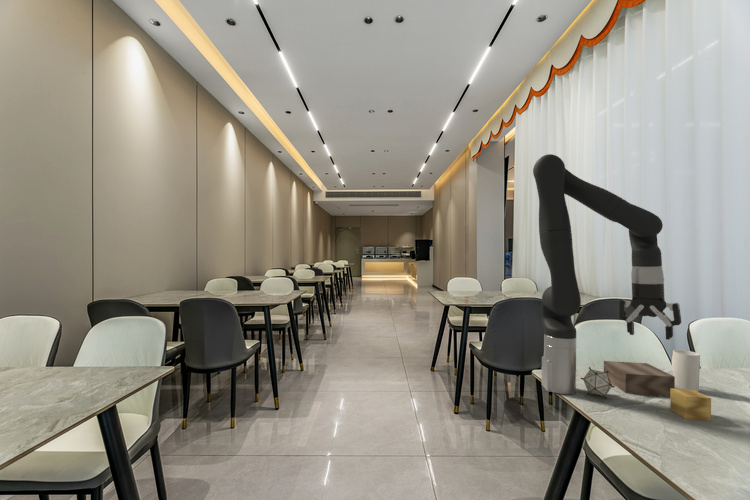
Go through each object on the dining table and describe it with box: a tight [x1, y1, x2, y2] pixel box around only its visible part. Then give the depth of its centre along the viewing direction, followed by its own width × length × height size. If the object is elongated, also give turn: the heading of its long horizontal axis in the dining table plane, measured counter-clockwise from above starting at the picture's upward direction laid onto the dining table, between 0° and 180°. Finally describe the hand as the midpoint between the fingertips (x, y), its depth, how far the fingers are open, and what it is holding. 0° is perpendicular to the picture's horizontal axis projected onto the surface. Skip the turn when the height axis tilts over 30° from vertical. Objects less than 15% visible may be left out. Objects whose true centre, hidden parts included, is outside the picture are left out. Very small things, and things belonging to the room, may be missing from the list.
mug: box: [671, 349, 701, 393], centre depth 117 cm, size 10×7×12 cm, turn 171°
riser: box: [603, 360, 676, 397], centre depth 118 cm, size 14×14×6 cm
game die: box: [580, 366, 616, 400], centre depth 109 cm, size 9×8×10 cm
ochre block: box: [669, 388, 712, 422], centre depth 97 cm, size 6×6×6 cm
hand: (649, 336), depth 104 cm, fingers open, 8 cm apart
